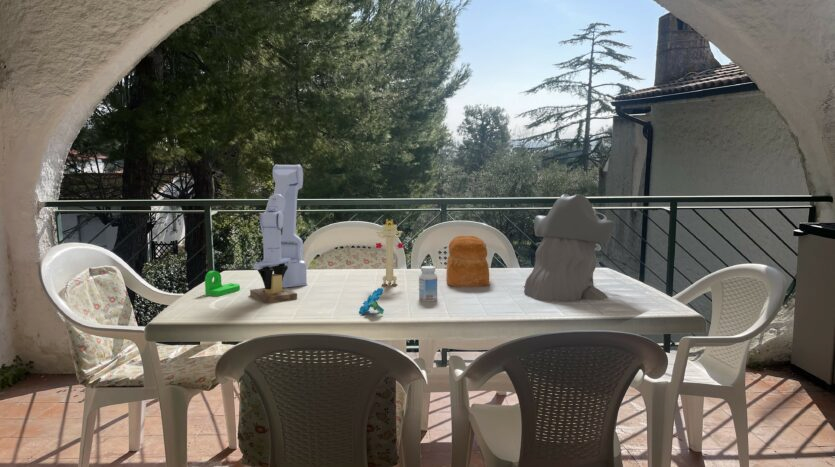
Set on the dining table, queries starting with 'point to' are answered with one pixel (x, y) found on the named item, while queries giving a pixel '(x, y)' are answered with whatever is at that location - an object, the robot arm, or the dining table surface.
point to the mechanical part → (218, 285)
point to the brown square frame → (273, 295)
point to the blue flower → (372, 302)
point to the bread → (467, 262)
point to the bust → (568, 251)
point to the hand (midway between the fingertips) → (273, 287)
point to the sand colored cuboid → (275, 284)
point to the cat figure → (389, 249)
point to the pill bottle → (428, 284)
